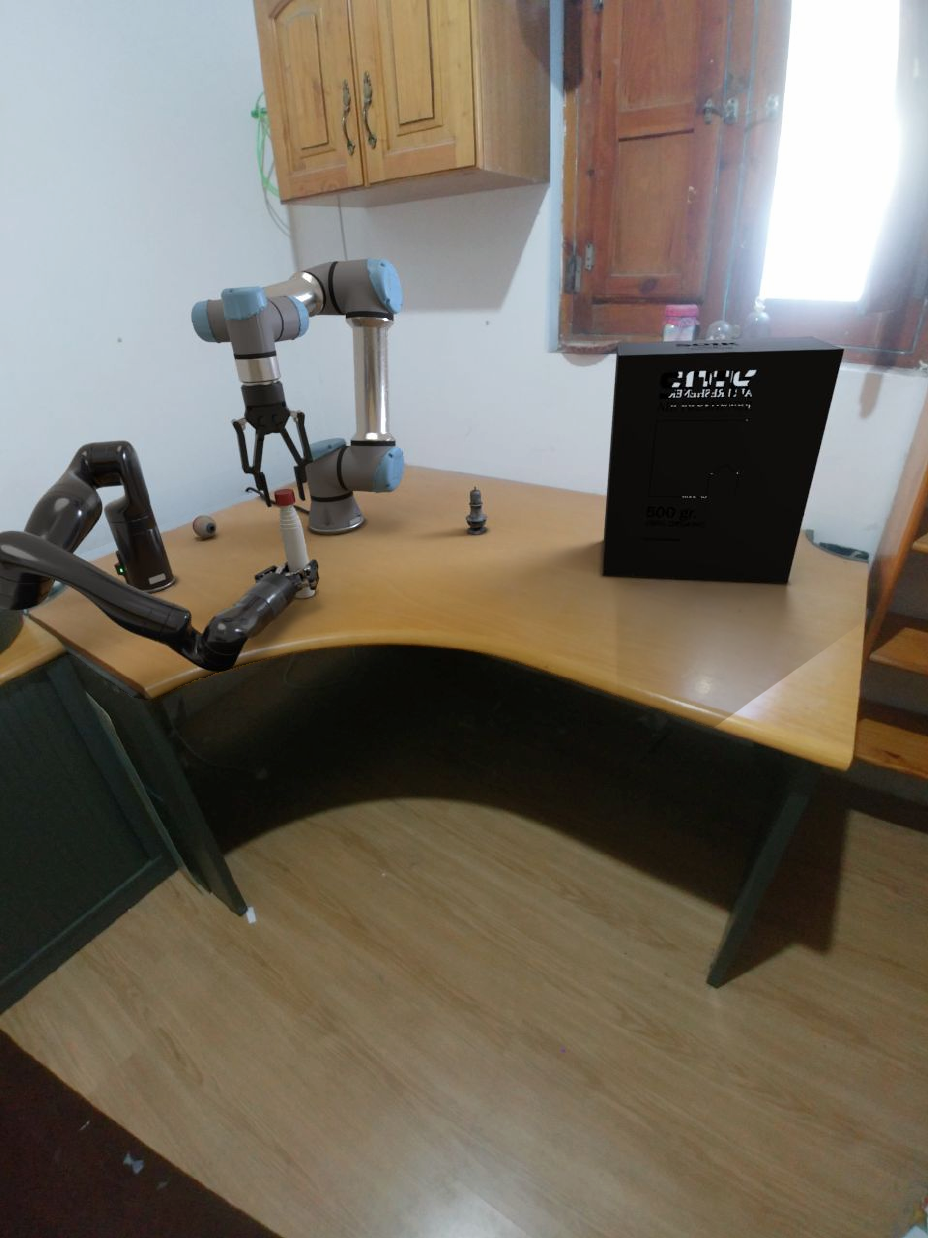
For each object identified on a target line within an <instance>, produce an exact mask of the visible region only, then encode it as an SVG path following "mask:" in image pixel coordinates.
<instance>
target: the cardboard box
mask: <svg viewBox="0 0 928 1238" xmlns="http://www.w3.org/2000/svg"><path fill="white" fill-rule="evenodd" d="M844 353H845V348H843V347H841V346H838V345H835V344H832V343H830V342H827V341H824V340H821V339H819V338H816V337H814V336H792V337H791V336H790V337H788V336H787V337H757V338H729V339H727V338H726V339H698V340H696V339H695V340H669V341H668V340H667V341H665V340H664V341H635V342H617V343H616V355H615V356H616V357H615V358H616V359H615V372H614V385H613V399H612V412H611V429H610V440H609V441H610V443H609V455H608V456H609V458H608V471H607V483H606V485H607V486H606V501H605V514H604V527H603V544H602V545H603V546H602V549H603V550H602V551H603V552H602V576H606V577H625V578H626V577H627V578H628V577H629V578H630V577H631V578H647V579H648V578H653V579H673V580H695V581H697V580H698V581H699V580H700V581H722V582H745V583H763V584H765V583H767V584H786V585H787V584H788V582H789V578H790V575H791V570H792V566H793V562H794V557H795V554H796V549H797V546H798V541H799V537H800V534H801V529H802V526H803V525H802V524H803V521H804V517H805V513H806V509H807V504H808V501H809V496H810V492H811V488H812V484H813V480H814V475H815V472H816V467H817V464H818V460H819V455H820V451H821V448H822V443H823V439H824V435H825V431H826V427H827V422H828V420H829V419H828V418H829V414H830V410H831V407H832V401H833V397H834V395H835V389H836V385H837V381H838V377H839V374H840V373H839V372H840V370H841V366H842V365H841V364H842V360H843V356H844ZM750 371H755V372H754V373H753V374H752V375H749V376H748V375H747V374H748V373H749V372H750ZM692 372H693V375H692V382H691V386H687V382H688V381H687V379H688V375H689V374H690V373H692ZM700 372H705V375H704V376H700ZM679 373H681V376H680V374H679ZM715 373H716V375H715ZM727 373H728V375H727ZM737 373H738V379H737V381H738V382H747V384H746V385H736V384H735V383H734V380H735V376H736V374H737ZM705 382H706V385H704V384H705ZM718 382H719V383H721V382H722V383H723V386H722V385H721V386H719V385H718V386H717V383H718ZM674 384H679V385H677V386H674Z"/></svg>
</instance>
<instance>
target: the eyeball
mask: <svg viewBox="0 0 928 1238" xmlns="http://www.w3.org/2000/svg"><path fill="white" fill-rule="evenodd" d="M192 529H193V532H194V533H195V534H196V535H197V536H198V537H201V538H210V537H212V536H214V535H215V533H216V531H217V523H216V521H215V520H214V519H213V518H212V517H211V516H208V515H204V514H203V515H199V516H197V517H196V518H195V519H194V520H193V521H192Z"/></svg>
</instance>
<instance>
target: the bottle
mask: <svg viewBox="0 0 928 1238" xmlns="http://www.w3.org/2000/svg"><path fill="white" fill-rule="evenodd" d="M293 505H294V504H292V505H288V506H279V508H280V509H279V522H278V523H279V530H280V535H281V539H282V543H283V549H284V553H285V557H286V562H288V567H289V572H290V573H291V572H293V571H295V570H296V569H298V568H300V569H302V568H304V567H306V565H307V564H308V563H309V562H310V561H309V560H310V559H309V556H308V550H307V544H306V540H305V535H304V529H303V525H302V522H301V519H300V517H299V514H298V512H297V511H296V509H295V508H294V507H293ZM306 575H307V574H306V572H305V576H306ZM315 594H316V589H315V590H310V587H303V589H302V590H300V591H298V592H297V593H296V595H295V598H297V599H308V598H310V597H313V596H314V595H315Z"/></svg>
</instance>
